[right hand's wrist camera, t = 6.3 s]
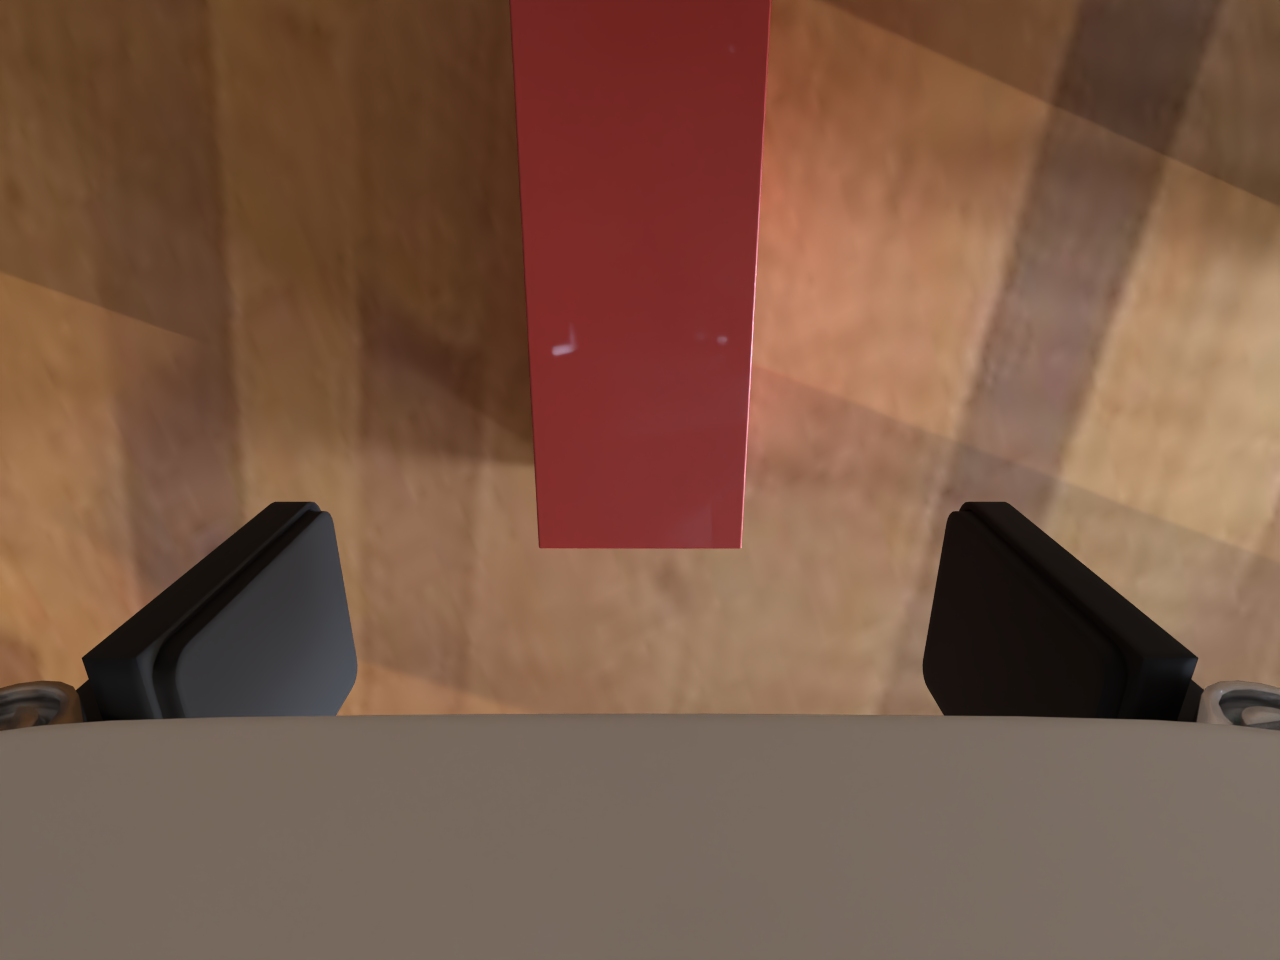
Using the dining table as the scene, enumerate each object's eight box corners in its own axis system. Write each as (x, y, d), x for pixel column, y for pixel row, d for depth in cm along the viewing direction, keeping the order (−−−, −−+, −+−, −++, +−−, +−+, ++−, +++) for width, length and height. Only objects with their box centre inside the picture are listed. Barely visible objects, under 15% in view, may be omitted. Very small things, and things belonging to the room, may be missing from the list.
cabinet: (540, -106, 23) (495, -252, 16) (740, -106, 23) (785, -253, 16) (563, 469, 30) (538, 549, 23) (717, 469, 30) (741, 549, 23)
